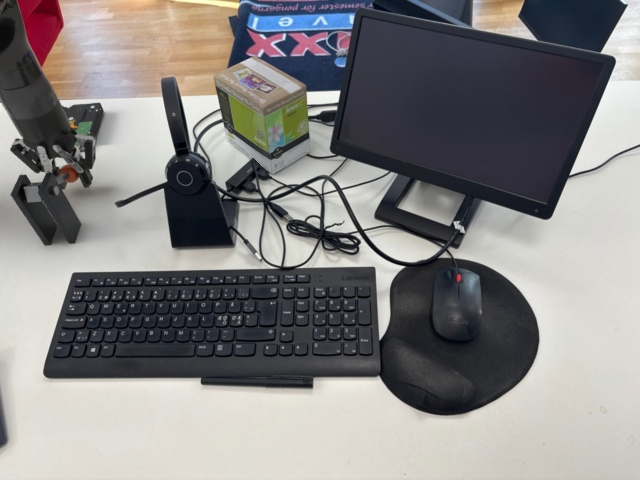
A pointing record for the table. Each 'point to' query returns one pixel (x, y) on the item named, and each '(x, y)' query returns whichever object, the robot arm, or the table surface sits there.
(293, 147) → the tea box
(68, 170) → the lever
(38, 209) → the bracket
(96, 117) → the disk drive
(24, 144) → the robot arm
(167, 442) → the table surface
